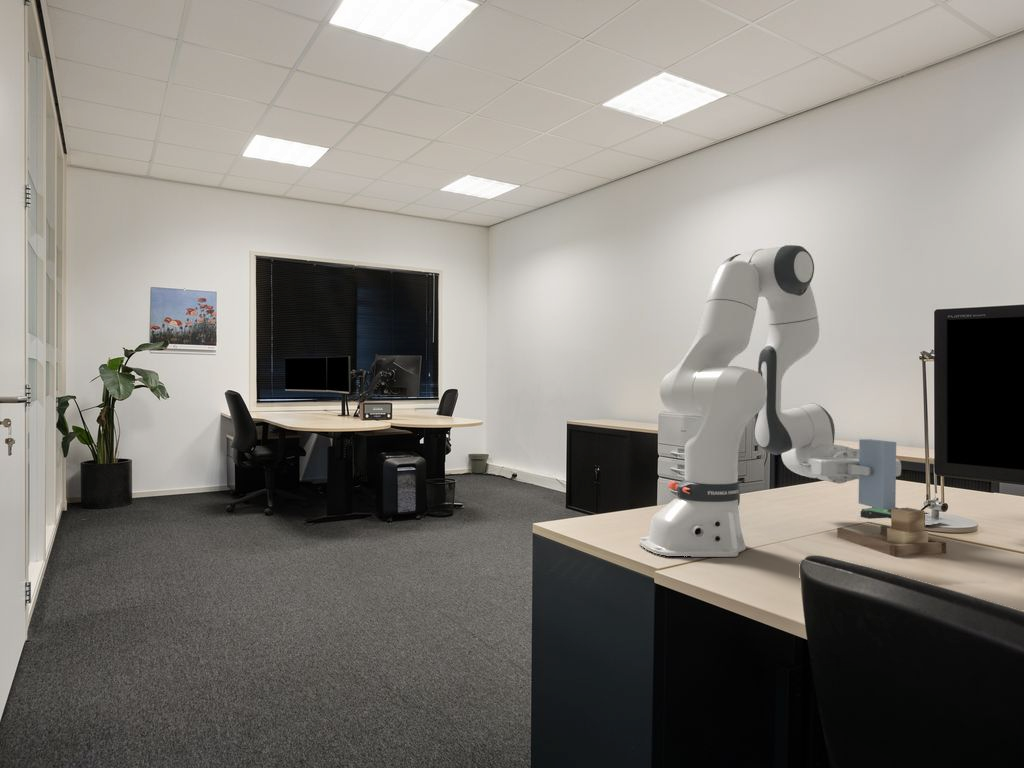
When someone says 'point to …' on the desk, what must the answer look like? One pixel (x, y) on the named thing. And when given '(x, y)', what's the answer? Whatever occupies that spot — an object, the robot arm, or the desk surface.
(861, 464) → the blue rectangular block
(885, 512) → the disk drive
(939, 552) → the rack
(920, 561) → the desk surface
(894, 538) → the block
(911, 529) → the offcut top
